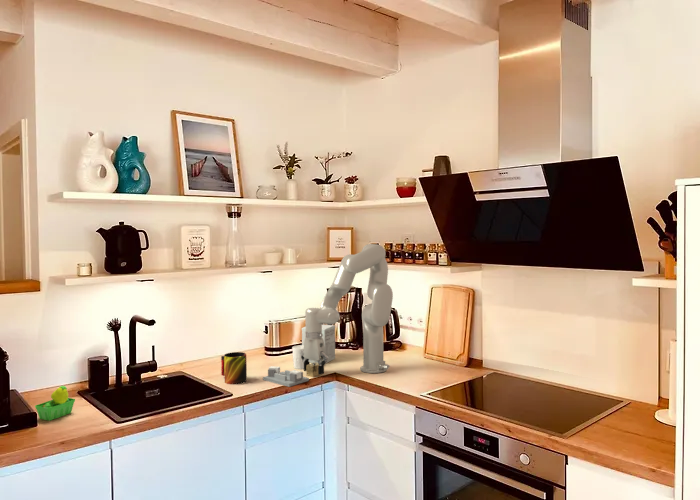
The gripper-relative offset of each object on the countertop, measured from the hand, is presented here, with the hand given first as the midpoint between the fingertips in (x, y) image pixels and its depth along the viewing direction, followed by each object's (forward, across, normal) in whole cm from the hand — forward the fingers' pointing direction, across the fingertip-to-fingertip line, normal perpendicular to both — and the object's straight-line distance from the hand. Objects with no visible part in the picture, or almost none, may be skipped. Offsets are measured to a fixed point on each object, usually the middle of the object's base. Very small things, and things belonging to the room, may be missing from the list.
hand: (313, 372), depth 245 cm
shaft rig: (+1, +4, +14) cm, 15 cm away
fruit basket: (+2, +35, +98) cm, 104 cm away
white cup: (+2, +15, -6) cm, 16 cm away
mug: (+2, +22, +30) cm, 37 cm away
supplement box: (+2, +18, -22) cm, 28 cm away
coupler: (+1, 0, 0) cm, 1 cm away
